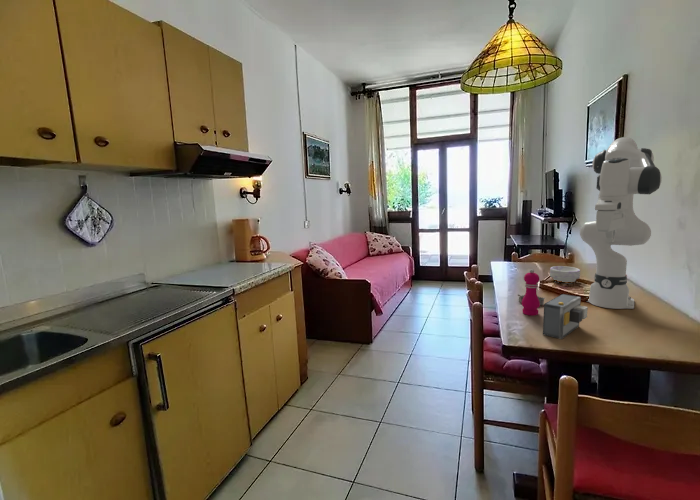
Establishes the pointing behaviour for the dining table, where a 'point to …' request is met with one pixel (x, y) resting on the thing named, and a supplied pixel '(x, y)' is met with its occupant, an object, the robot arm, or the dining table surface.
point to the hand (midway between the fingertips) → (610, 242)
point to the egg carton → (537, 296)
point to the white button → (583, 310)
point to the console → (559, 316)
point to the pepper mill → (531, 294)
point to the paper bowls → (565, 273)
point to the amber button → (566, 318)
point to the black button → (575, 315)
